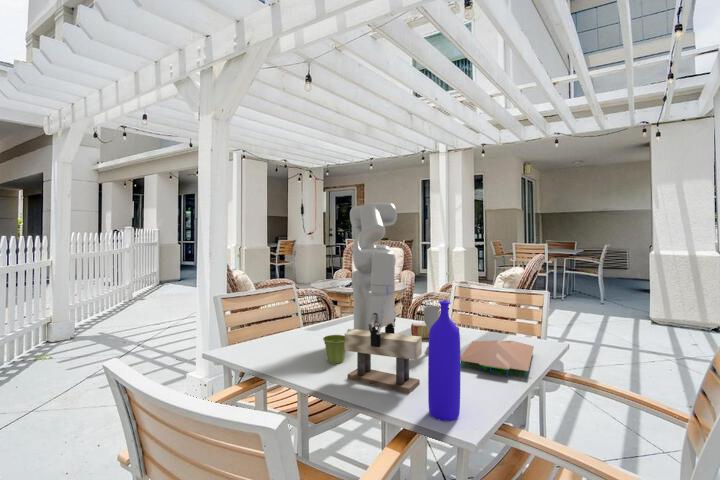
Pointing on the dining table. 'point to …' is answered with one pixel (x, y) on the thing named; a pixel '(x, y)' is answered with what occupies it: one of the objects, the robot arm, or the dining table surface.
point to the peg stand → (384, 375)
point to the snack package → (421, 330)
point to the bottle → (444, 367)
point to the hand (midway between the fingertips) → (382, 342)
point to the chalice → (430, 317)
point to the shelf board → (384, 344)
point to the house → (499, 355)
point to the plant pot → (335, 348)
